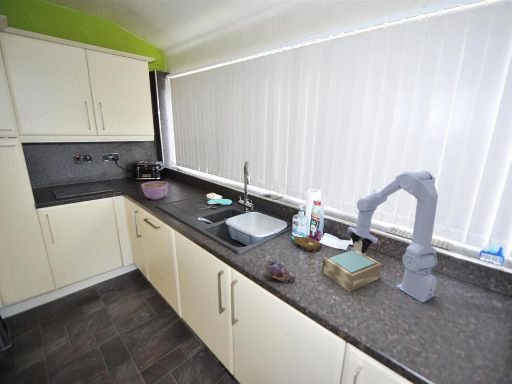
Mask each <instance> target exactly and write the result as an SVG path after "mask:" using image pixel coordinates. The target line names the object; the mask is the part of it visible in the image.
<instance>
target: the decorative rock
mask: <svg viewBox="0 0 512 384" xmlns="http://www.w3.org/2000/svg"><path fill="white" fill-rule="evenodd" d="M293 238H294V244H296V245H298V246H300V248H304V249H305V250H306V251H307V252H314V253H316V252H318V251H319V250H320V248H321V247H322V244H323V243H322V242H320V241H319V240H318V239H317V240H316V239H314V238H311V237H308V236H306V237H305V238H304V237H297V236H295V235H294V236H293Z"/></svg>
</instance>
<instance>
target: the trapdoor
mask: <svg viewBox="0 0 512 384" xmlns="http://www.w3.org/2000/svg"><path fill="white" fill-rule="evenodd" d="M329 259H330V260H331V261H333V262H334V263H336V264H337V265H339V266H341V267H342V268H344V269H345V270H347V271H348V272H350V273H352V274H353V273H356V272H358V271H360V270H363V269H365V268H368V267H370V266H373V265H375V262H373V261H371V260H369V259H367V258H366V257H364V256H362V255H360V254H358V253H356V252H354V251H353V250H352V251H350V250H349V251H346V252H343V253H339V254H337V255H334V256H332V257H329Z"/></svg>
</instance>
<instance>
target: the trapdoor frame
mask: <svg viewBox="0 0 512 384" xmlns="http://www.w3.org/2000/svg"><path fill="white" fill-rule="evenodd" d="M352 250H353V251H354V252H356V253H358V254H360V255H362V256H364V257H366V258H367V259H369V260H371V261H373V262H375V265H373V266H370V267H368V268H365V269H363V270H360V271H358V272H356V273H353V274H352V273H350V272H348V271H347V270H345V269H344V268H342V267H341V266H339V265H337V264H336V263H334V262H333V261H331V260H330V259H329V258H330V257H329V258H328V257H327V256H324V257H323V258H322V259H323V260H322V266H321V268H322V269H321V272H322V273H323V274H324V275H325V276H327V277H328V278H330V279H331V280H332V281H334V282H335V283H337V284H338V285H340V286H341V287H342V288H343V289H345V290H347V291H348V292H350V293H351V292H353V291H355V290H357V289H359V288H362V287H363V286H366V285H368V284H371V283H372V282H375V281H377V280H379V279H380V277H381V272H382V268H383V267H382V266H383V264H382V262H379V261H378V260H375V259H374V258H371V257H369V256H368V255H367V254H366V255H364V254H362V253H360V252H359V251H357V250H355V249H353V247H351V248H350V249H349V251H352Z"/></svg>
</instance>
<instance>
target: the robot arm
mask: <svg viewBox="0 0 512 384" xmlns="http://www.w3.org/2000/svg"><path fill="white" fill-rule="evenodd" d="M435 183H436V178H435V176H433V174H432V173H430V172H429V171H427V170H421V171H403V172H402V173H400V174H398V175H396V176H395V179H393V180H392V181H391V182H390V183H388V184H387V185H386V186H385V187H383V188H382V189H381V188H380V189H373V190H372V193H370V194H368V195H365V197H364V198H359V199H358V200H357V202H356V207H357V210H358V213H357V222H356V227H353V226H348V227H347V231H348V232H351V234H350V235H349V236H350V238H351V241H352V246H353V247H354V242H357V241H360V239H361V237H362V238H363V239H361V241H362V253H367V251H368V249H369V247H370V246H371V244H372V243H373V244H377V243H378V240H379V238H378V237H376V236H374V235H373V234H371V233H370V230H371V226H372V218H373V215H374V213H375V211H376V210H377V208H378V206H380V205H382V204H384V202H386V201H387V200H388V197H389V196H390V195H393V194H394V193H396V192H398V191H400V190H404V191H406V192H407V193H408V194H409V195H412V196H413V197H414V198H415V199H416V209H415V216H414V221H413V222H414V224H413V231H412V232H413V233H412V239H411V243H410V244H409V245H408V246H407V247H406V249H405V253H404V254H403V255H402V258H401V260H402V264H403V266H404V273H403V277H402V282H401V283H399V284H397V285H396V286H395V287H396V288H397V289H399V290H400V291H402V292H403V293H405V294H407V295H409V296H411V298H413V299H416V300H418V301H419V302H420V303H425V302H427V301H428V300H430V299H431V298H433V297H435V292H436V291H435V290H436V287H437V283H438V278H437V277H436V276H434V275H433V274H432V273H431V271H432V268H434V267H436V266H437V264H438V258H437V253H436V252H437V249H435V248H434V247H433V246H432V240H433V233H434V226H435V219H436V213H437V206H438V199H439V198H438V197H439V194H438V192H437V189H436V185H435ZM353 247H352V248H353Z"/></svg>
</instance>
